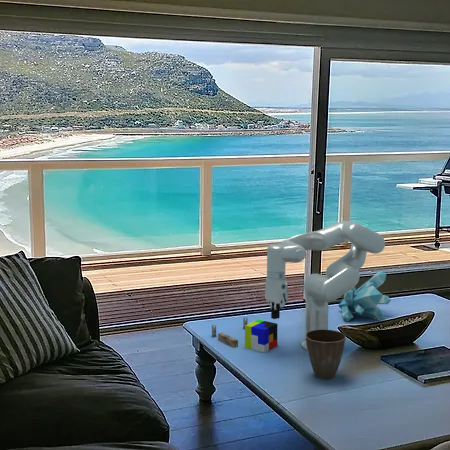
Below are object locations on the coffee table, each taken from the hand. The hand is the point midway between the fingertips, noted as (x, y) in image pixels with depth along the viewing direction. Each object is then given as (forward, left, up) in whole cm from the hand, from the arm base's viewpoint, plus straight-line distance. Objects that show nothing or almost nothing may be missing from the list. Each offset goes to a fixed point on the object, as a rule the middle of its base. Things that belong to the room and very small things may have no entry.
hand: (275, 318), depth 269 cm
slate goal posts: (+33, 0, -15) cm, 36 cm away
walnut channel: (+22, 0, -15) cm, 27 cm away
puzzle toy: (+10, 0, -16) cm, 19 cm away
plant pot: (-29, 0, -16) cm, 33 cm away
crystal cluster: (+11, -65, -16) cm, 68 cm away
